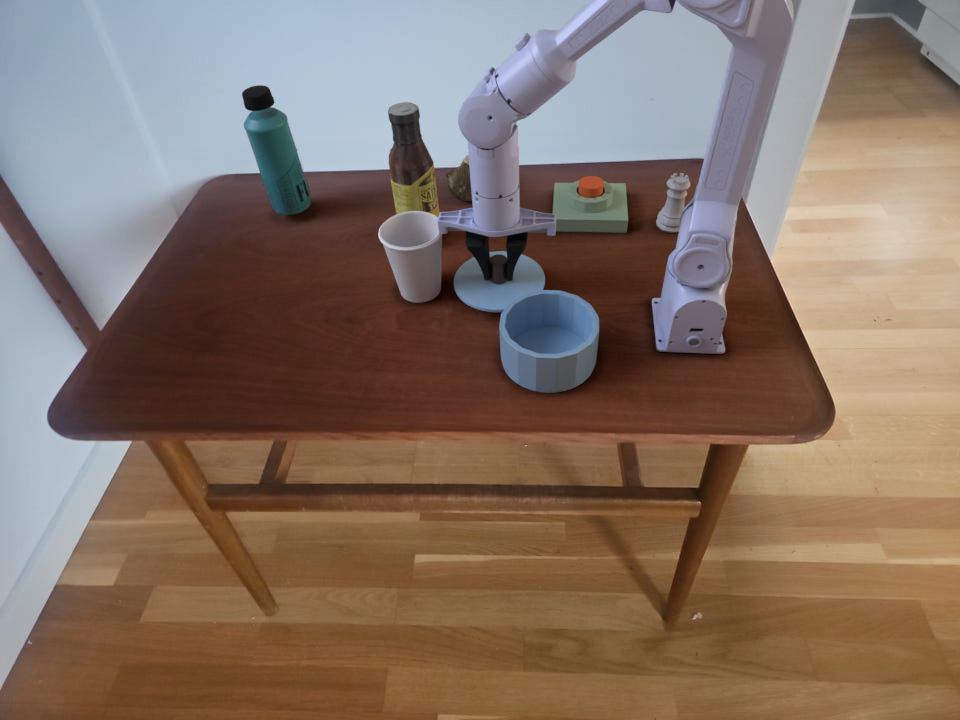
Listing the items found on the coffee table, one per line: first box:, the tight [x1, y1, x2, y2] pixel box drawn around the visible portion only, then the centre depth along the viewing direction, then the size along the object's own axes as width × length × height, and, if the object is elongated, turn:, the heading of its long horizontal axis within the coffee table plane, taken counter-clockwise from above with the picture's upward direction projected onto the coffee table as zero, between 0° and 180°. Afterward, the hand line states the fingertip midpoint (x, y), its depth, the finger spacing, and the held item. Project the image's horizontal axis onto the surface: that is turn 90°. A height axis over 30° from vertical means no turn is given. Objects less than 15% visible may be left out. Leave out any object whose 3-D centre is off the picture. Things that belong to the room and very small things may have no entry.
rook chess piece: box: [655, 172, 692, 234], centre depth 93 cm, size 4×4×8 cm
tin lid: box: [453, 250, 546, 313], centre depth 85 cm, size 12×12×4 cm
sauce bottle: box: [387, 101, 440, 217], centre depth 90 cm, size 6×6×20 cm
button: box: [578, 175, 604, 198], centre depth 96 cm, size 4×4×2 cm
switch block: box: [552, 179, 629, 234], centre depth 98 cm, size 10×11×4 cm
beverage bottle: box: [241, 84, 312, 216], centre depth 97 cm, size 6×7×20 cm
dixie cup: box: [377, 211, 443, 304], centre depth 85 cm, size 8×8×10 cm
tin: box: [498, 289, 600, 394], centre depth 77 cm, size 11×11×6 cm
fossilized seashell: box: [445, 154, 472, 202], centre depth 103 cm, size 8×7×10 cm
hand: (499, 275), depth 86 cm, fingers closed on tin lid, 2 cm apart
